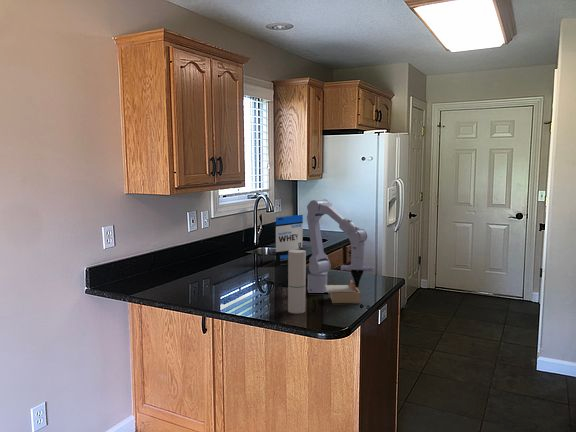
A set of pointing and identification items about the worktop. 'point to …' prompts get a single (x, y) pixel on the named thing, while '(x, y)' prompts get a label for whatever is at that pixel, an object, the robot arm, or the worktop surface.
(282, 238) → the protein powder
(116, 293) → the worktop surface
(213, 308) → the worktop surface
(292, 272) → the cylindrical container
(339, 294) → the box
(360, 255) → the robot arm
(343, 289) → the mailer lid
